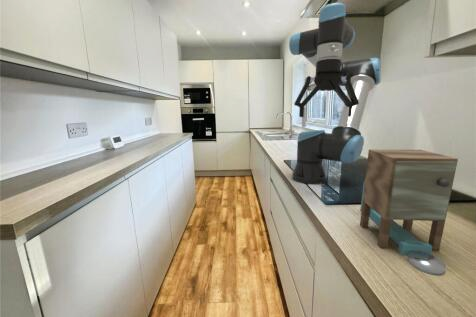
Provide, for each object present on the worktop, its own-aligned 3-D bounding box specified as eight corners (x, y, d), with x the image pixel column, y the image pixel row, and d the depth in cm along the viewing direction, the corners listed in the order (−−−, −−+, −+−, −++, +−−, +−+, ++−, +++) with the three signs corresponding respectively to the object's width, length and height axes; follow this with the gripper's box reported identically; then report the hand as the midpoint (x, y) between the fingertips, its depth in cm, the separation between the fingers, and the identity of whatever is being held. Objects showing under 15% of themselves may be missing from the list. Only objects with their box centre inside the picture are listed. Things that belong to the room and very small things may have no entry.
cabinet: (359, 224, 64) (368, 149, 59) (408, 226, 62) (420, 149, 58) (384, 252, 51) (398, 160, 46) (445, 255, 50) (465, 160, 45)
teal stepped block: (357, 210, 73) (361, 181, 71) (376, 211, 72) (380, 181, 70) (402, 255, 50) (408, 214, 48) (430, 256, 50) (438, 215, 48)
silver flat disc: (401, 256, 50) (402, 250, 50) (428, 257, 50) (430, 251, 50) (421, 275, 44) (422, 268, 44) (452, 276, 44) (454, 270, 44)
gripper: (290, 58, 69) (288, 127, 73) (375, 56, 66) (367, 127, 71) (287, 63, 76) (285, 126, 80) (363, 61, 74) (357, 126, 78)
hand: (323, 127), depth 76 cm, fingers open, 13 cm apart
